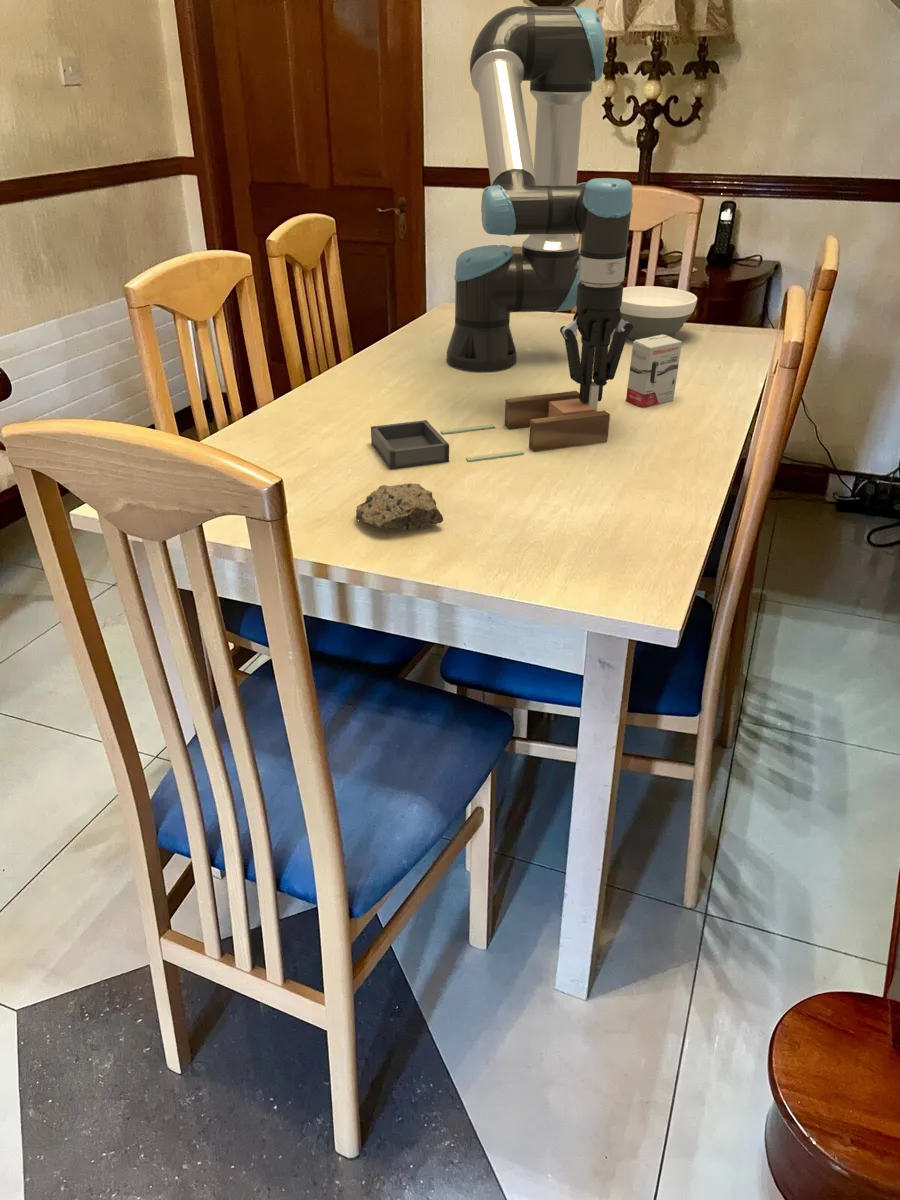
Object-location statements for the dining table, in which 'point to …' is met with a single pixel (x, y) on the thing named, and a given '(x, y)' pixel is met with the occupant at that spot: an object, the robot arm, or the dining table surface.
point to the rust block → (568, 407)
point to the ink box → (653, 370)
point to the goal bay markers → (482, 457)
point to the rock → (400, 507)
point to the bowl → (656, 310)
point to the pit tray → (409, 444)
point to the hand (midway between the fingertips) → (588, 419)
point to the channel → (555, 422)
